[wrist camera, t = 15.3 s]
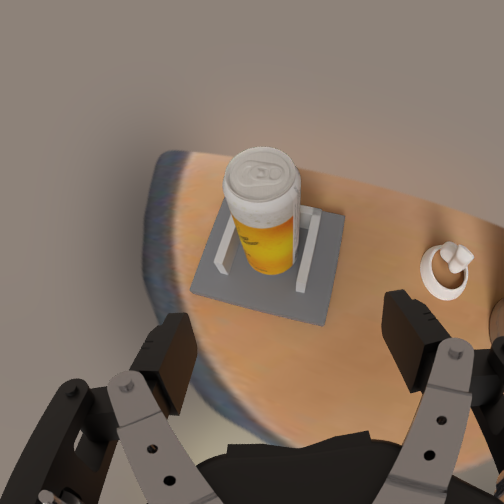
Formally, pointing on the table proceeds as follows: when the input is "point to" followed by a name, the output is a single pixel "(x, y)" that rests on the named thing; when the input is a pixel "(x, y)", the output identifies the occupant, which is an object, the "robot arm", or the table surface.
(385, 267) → the table surface
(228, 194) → the beer can
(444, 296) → the hook
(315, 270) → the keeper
